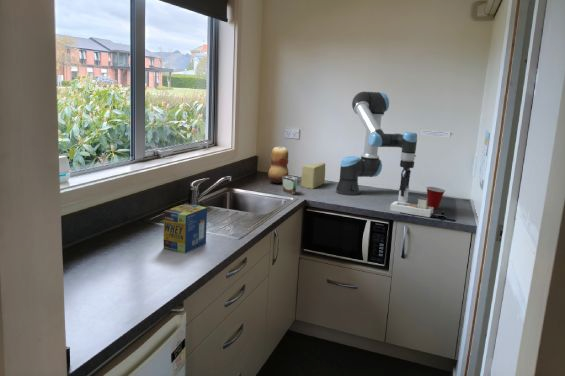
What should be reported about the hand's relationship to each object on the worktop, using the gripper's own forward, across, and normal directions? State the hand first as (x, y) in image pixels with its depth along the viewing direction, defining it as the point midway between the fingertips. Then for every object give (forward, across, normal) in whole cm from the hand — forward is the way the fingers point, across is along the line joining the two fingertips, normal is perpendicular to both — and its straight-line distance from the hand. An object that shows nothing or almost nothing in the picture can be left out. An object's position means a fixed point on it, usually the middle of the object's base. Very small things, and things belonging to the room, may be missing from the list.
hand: (402, 200), depth 267 cm
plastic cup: (+6, +18, -14) cm, 24 cm away
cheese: (+6, +27, +66) cm, 71 cm away
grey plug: (0, 0, 0) cm, 0 cm away
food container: (+6, -4, +69) cm, 69 cm away
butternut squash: (+5, +16, +89) cm, 90 cm away
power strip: (+6, 0, -9) cm, 11 cm away
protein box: (+6, -119, +60) cm, 133 cm away
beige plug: (+6, 0, -11) cm, 12 cm away
